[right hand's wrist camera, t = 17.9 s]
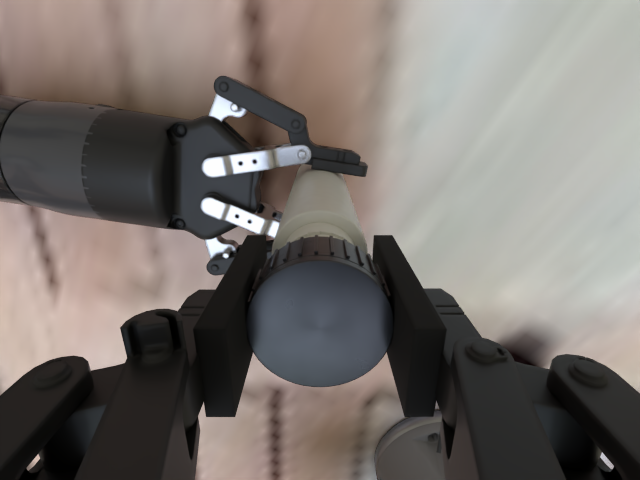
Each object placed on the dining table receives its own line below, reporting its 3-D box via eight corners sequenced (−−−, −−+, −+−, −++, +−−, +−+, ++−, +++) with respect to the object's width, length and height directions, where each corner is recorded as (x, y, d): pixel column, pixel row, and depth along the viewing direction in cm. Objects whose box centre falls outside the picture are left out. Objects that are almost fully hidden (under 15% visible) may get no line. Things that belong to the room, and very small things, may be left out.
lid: (238, 327, 13) (223, 364, 11) (279, 213, 11) (271, 234, 9) (354, 364, 13) (359, 405, 11) (407, 261, 12) (424, 289, 10)
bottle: (352, 175, 30) (396, 265, 13) (324, 211, 31) (329, 338, 14) (314, 145, 29) (307, 201, 12) (286, 184, 30) (244, 284, 13)
